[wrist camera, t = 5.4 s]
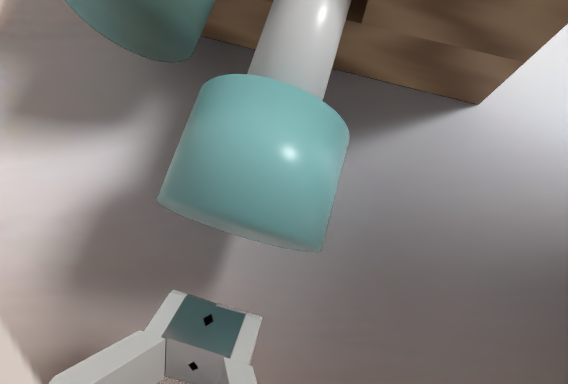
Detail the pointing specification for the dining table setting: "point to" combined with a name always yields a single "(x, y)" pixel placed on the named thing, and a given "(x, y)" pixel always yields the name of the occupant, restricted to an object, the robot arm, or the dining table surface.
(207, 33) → the block
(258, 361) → the dining table surface
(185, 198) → the knob
